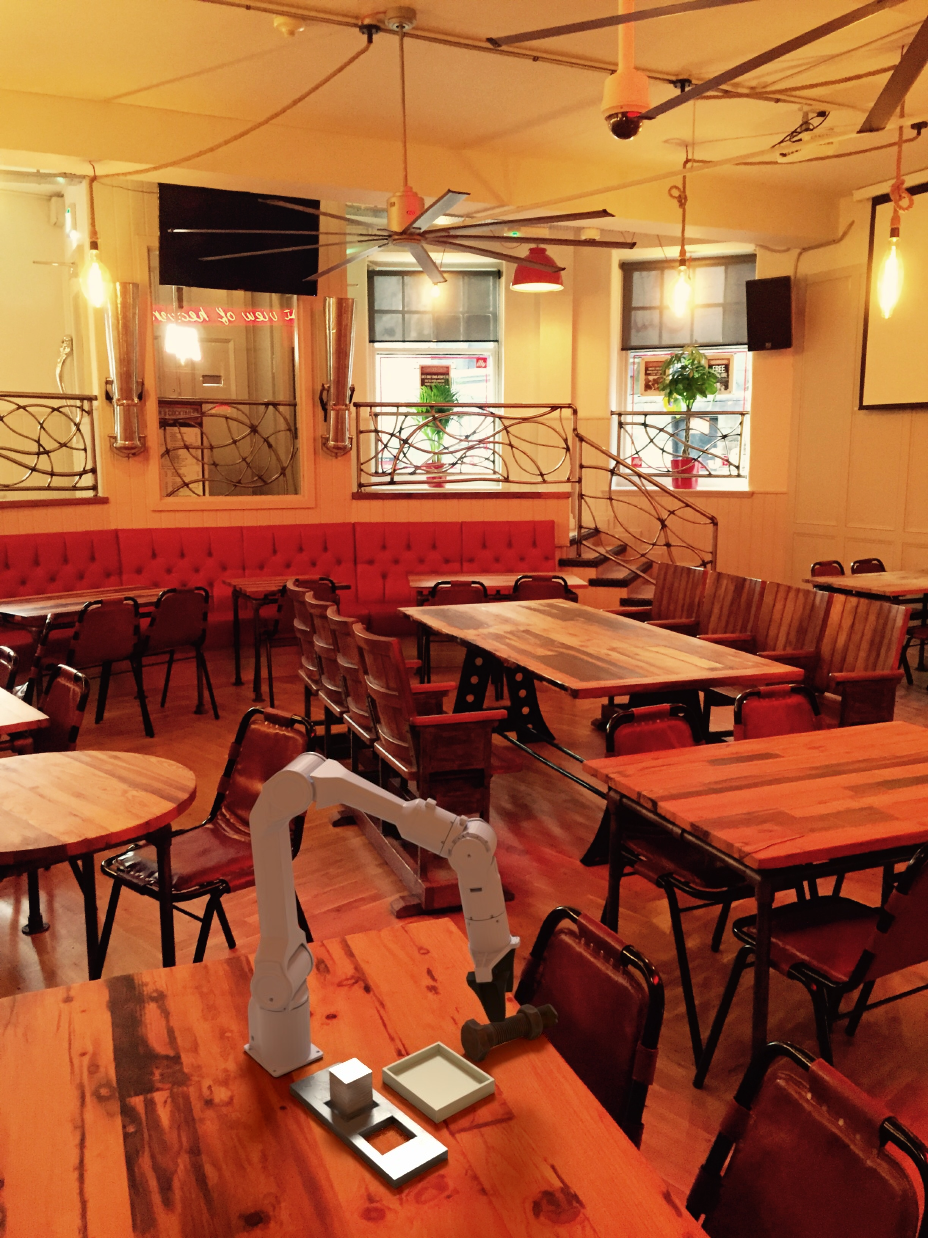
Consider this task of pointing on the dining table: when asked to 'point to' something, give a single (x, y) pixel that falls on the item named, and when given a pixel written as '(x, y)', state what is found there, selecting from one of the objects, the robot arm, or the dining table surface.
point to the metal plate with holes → (373, 1131)
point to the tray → (438, 1081)
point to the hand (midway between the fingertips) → (501, 1006)
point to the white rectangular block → (350, 1090)
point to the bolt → (506, 1030)
